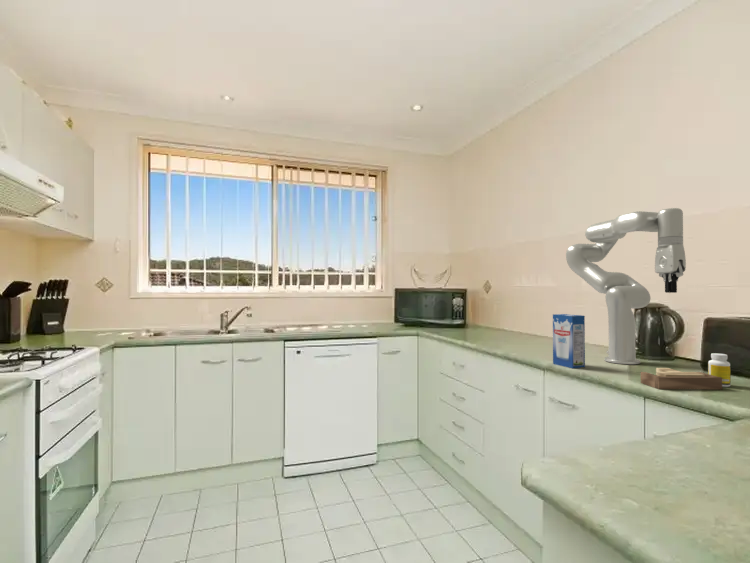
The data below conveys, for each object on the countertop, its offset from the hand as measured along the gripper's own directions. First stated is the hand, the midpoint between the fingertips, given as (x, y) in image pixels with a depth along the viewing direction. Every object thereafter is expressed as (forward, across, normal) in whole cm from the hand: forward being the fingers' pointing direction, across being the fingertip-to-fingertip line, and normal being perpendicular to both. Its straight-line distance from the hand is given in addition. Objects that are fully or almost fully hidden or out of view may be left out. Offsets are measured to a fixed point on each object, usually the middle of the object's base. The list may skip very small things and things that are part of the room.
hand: (670, 292), depth 148 cm
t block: (+29, +18, -13) cm, 36 cm away
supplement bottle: (+29, +20, 0) cm, 35 cm away
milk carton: (+29, -12, -32) cm, 45 cm away
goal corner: (+29, +21, -13) cm, 38 cm away
